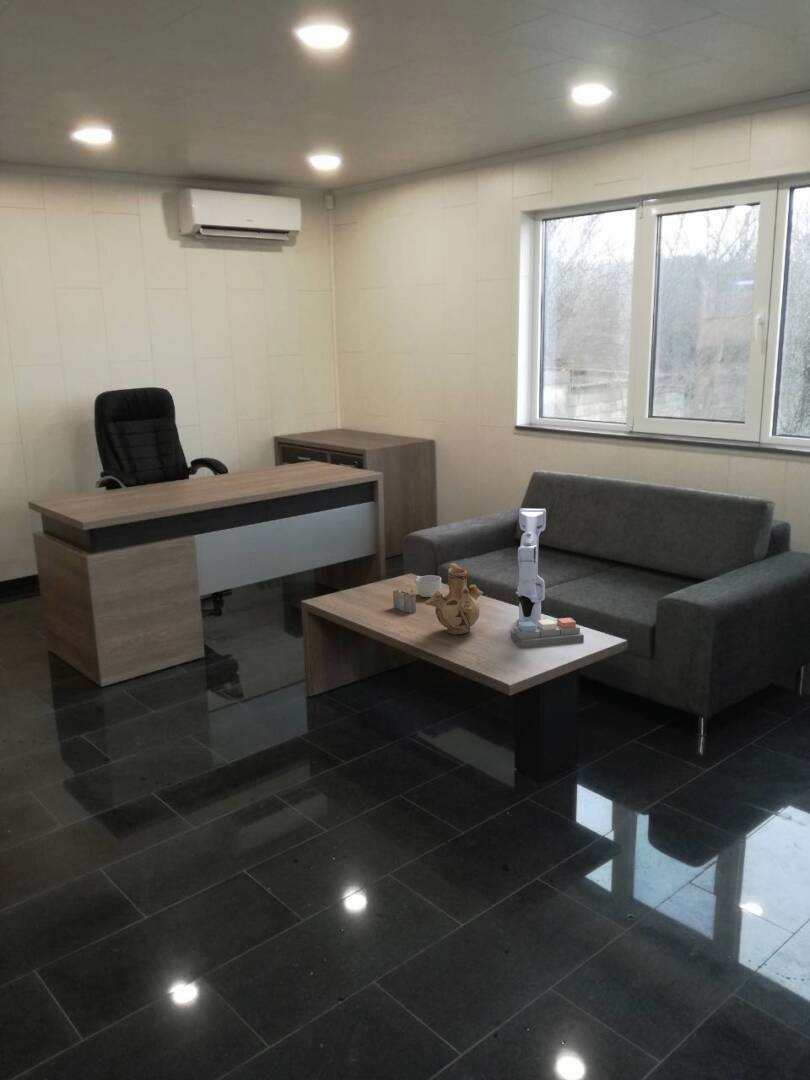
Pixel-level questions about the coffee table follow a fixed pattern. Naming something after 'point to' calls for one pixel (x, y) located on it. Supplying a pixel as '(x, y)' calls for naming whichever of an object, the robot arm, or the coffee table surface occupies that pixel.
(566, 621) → the salmon pink key
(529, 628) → the blue key
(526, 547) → the robot arm
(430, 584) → the teacup
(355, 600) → the coffee table surface
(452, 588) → the ceramic vessel
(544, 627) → the white key
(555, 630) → the key panel
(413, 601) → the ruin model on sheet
